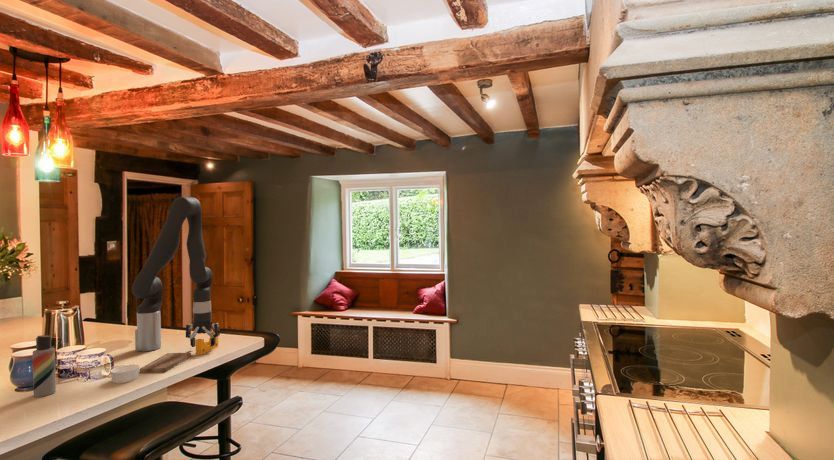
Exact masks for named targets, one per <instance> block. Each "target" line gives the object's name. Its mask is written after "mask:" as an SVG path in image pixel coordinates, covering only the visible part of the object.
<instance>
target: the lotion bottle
mask: <svg viewBox="0 0 834 460" xmlns="http://www.w3.org/2000/svg"><path fill="white" fill-rule="evenodd" d="M35 343H36V346H35V348H36V349H35V350H33V351H32V380H33V381H32V386H33V396H34V397H35V398H42V397H47V396H51V395H53V394H55V393H56V389H57V385H56V383H57V382H56V381H57V380H56V349H55V347H52V336H51V335H49V334H48V335H47V334H43V335H37V337H36V338H35Z"/></svg>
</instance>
